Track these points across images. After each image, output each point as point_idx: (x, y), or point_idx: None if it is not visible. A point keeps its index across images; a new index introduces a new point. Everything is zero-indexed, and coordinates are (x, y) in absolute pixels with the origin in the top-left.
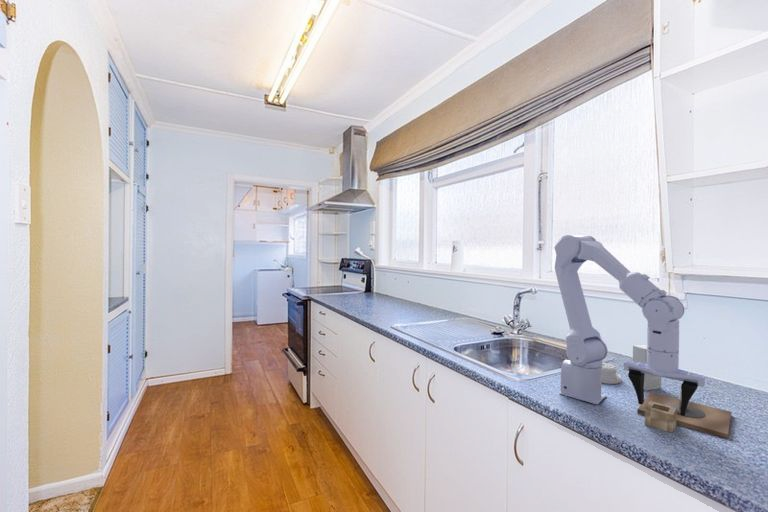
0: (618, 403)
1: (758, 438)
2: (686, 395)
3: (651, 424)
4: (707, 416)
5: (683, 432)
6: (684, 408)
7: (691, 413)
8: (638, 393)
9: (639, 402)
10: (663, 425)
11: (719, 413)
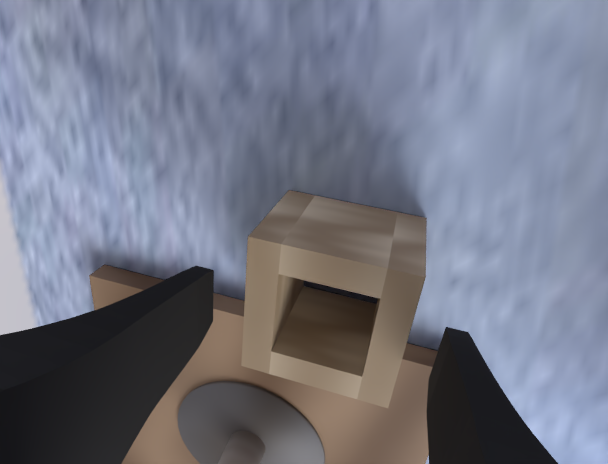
0: (554, 441)
1: (42, 325)
2: (55, 338)
3: (390, 216)
4: (171, 415)
5: (246, 231)
6: (161, 285)
7: (220, 416)
8: (485, 391)
9: (465, 337)
10: (325, 209)
11: (144, 455)
